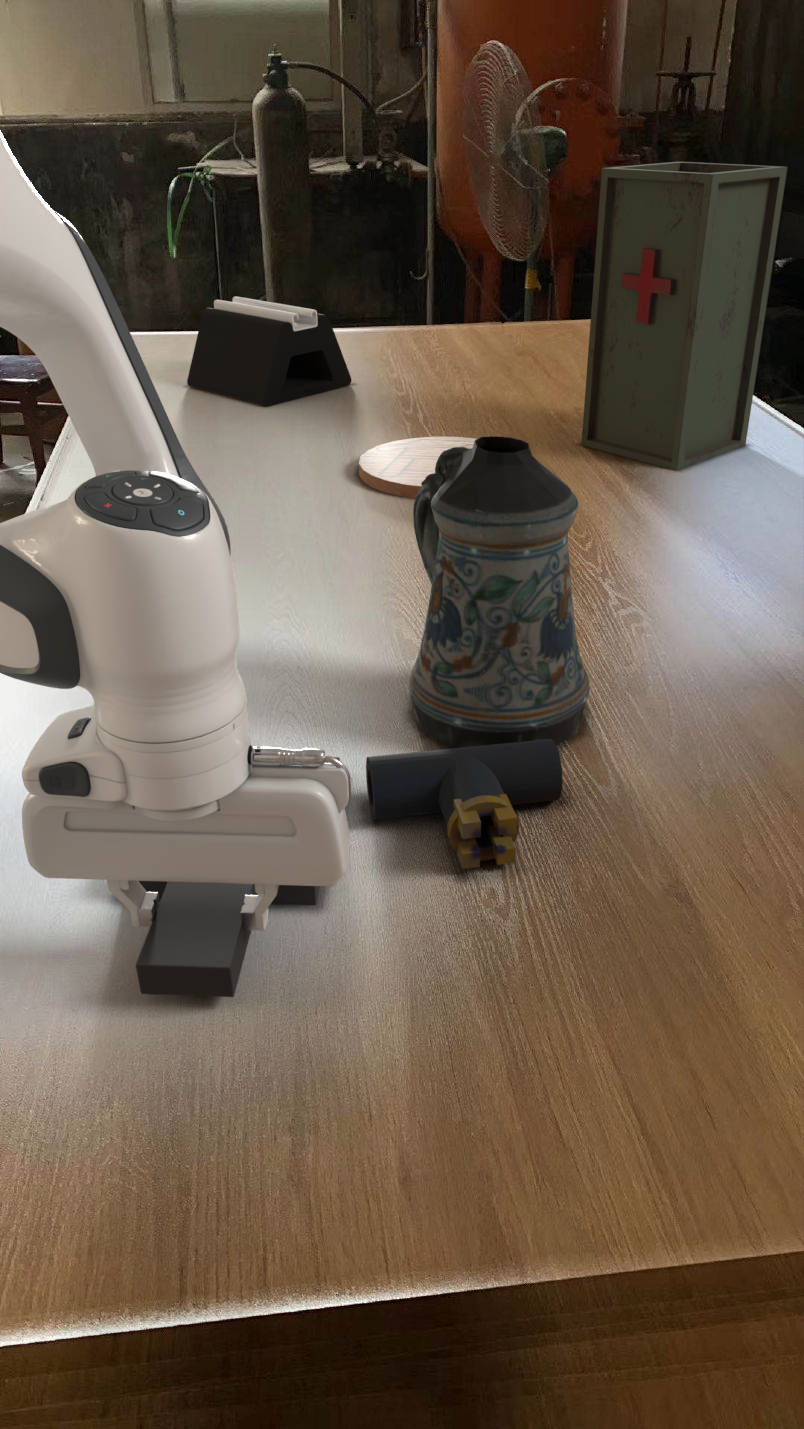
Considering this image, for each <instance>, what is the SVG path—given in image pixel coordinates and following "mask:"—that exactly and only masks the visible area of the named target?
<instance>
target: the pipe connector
mask: <svg viewBox="0 0 804 1429" xmlns="http://www.w3.org/2000/svg"><path fill="white" fill-rule="evenodd" d="M557 746H558V745H556V744H555V742H554V741H553V740H552V739H545V740H535V741H525V742H515V743H504V744H494V745H484V746H474V747H464V748H445V749H443V748H442V749H434V750H423V751H414V752H413V751H412V752H404V753H403V752H402V753H393V754H381V755H374V756H373V755H371V756H367V757H366V759H365V760H366V761H365V775H366V776H365V777H366V789H367V798H368V803H369V810H370V811H369V812H370V815H371V818H372V820H373V821H374V820H375V821H376V820H383V819H385V820H386V819H393V818H405V817H413V816H414V817H415V816H421V815H423V816H424V815H430V814H441V813H442V816H443V819H444V821H445V822H444V823H445V824H446V830H447V832H446V833H447V836H448V839H449V843H450V844H451V847H452V849H453V851H454V852H455V853H456V856H457V858H458V861H459V864H460V867H461V869H463V870H464V869H473V868H480V867H481V862H482V861H488V860H493V859H494V860H495V862H496V864H497V865H500V866H501V865H508V864H515V863H516V853H517V852H516V850H517V848H516V845H515V842H516V840H517V838H518V836H519V832H520V822H519V819H518V816H517V813H516V811H515V809H514V807H513V806H517V805H525V804H526V805H527V804H534V803H535V804H537V803H545V802H555V801H558V800H560V798H561V796H562V792H563V767H562V761H561V756H560V752H559V750H558V749H559V748H558V747H557Z"/></svg>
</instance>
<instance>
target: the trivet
mask: <svg viewBox="0 0 804 1429" xmlns="http://www.w3.org/2000/svg"><path fill="white" fill-rule="evenodd" d="M476 439H477V438H476V437H475V438H474V437H462V436H424V437H423V436H422V437H411V438H404V439H397V440H392V441H389V442H385V443H381V444H378V445H375V446H374V447H372V448H370V449H368V450H366V451H365V452H364V453H362V454H361V455H360V457H359V460H358V475H359V477H360V479H361V480H362V482H363V483H365V484H366V485H368V486H369V487H370V488H372V489H375V490H377V491H380V492H382V493H386V494H387V495H393V496H399V497H405V498H410V499H415V498H416V496H417V494H418V492H419V490H420V488H421V487H422V485H421V483H422V482H423V481H424V480H425V478H426V477H427V476H428V475H430V474H433V473H435V467H436V463H437V460H438V458H439V457H440V455H441V453H442V452H443V451H446V450H448V449H451V448H454V447H465V448H470V449H471V448H473V445H474V441H475V440H476Z"/></svg>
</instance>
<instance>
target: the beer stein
mask: <svg viewBox="0 0 804 1429" xmlns="http://www.w3.org/2000/svg"><path fill="white" fill-rule="evenodd" d="M475 439H476V440H475V441H474V445H473V448H471V449H470V448H465V447H454V448H451V449H448V450H446V451H443V452H442V453H441V455H440V457H439V458H438V460H437V463H436V467H435V473H433V474H430V475H428V476H427V477H426V478H425V480H424V481H423V482H422V483H421V485H422V487H421V488H420V490H419V492H418V494H417V496H416V498H414V503H413V511H412V521H413V530H414V535H415V540H416V544H417V548H418V552H419V554H420V558H421V561H422V564H423V567H424V570H425V572H426V574H427V577H428V579H429V582H430V585H431V587H430V594H429V599H428V606H427V611H426V617H425V621H424V622H425V623H424V628H423V633H422V638H421V643H420V647H419V651H418V654H417V657H416V660H415V662H414V664H413V666H412V668H411V671H410V674H409V678H408V690H409V696H410V700H411V703H412V706H413V715H414V717H415V719H416V721H417V723H418V725H419V727H420V729H421V730H423V731H424V732H425V733H426V734H427V735H428V736H429V737H431V738H433V739H435V740H436V741H439V743H442V744H443V745H445V746H448V748H449V747H450V748H451V749H453V748H464V747H474V746H484V745H494V744H504V743H515V742H525V741H535V740H545V739H552V740H553V741H554V742H555V744H556V746H558V745H560V744H561V743H564V742H565V741H567V740H568V739H571V738H572V737H574V736H576V735H578V731H579V729H580V724H581V721H582V717H583V714H584V710H585V706H586V703H587V701H588V698H589V695H590V679H589V675H588V672H587V671H586V669H585V667H584V663H583V661H582V658H581V654H580V649H579V645H578V636H577V630H576V622H575V611H574V601H573V589H572V577H571V576H572V575H571V562H570V551H569V531H570V529H571V527H572V526H573V524H574V523H575V521H576V520H575V519H576V516H577V512H578V509H579V500H578V498H577V495H576V494H575V493H574V492H573V490H572V489H571V487H570V486H569V485H568V484H567V483H566V482H564V481H563V479H561V477H559V476H558V475H556V474H555V473H553V472H552V471H551V470H550V469H549V468H547V467H546V466H545V465H544V464H542V463H541V462H540V461H539V460H538V459H537V458H535V456H534V455H533V454H532V453H533V452H532V450H531V447H530V443H529V442H527V441H525V440H522V439H518V438H514V437H509V436H495V435H491V436H481V437H479V438H475Z"/></svg>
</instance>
